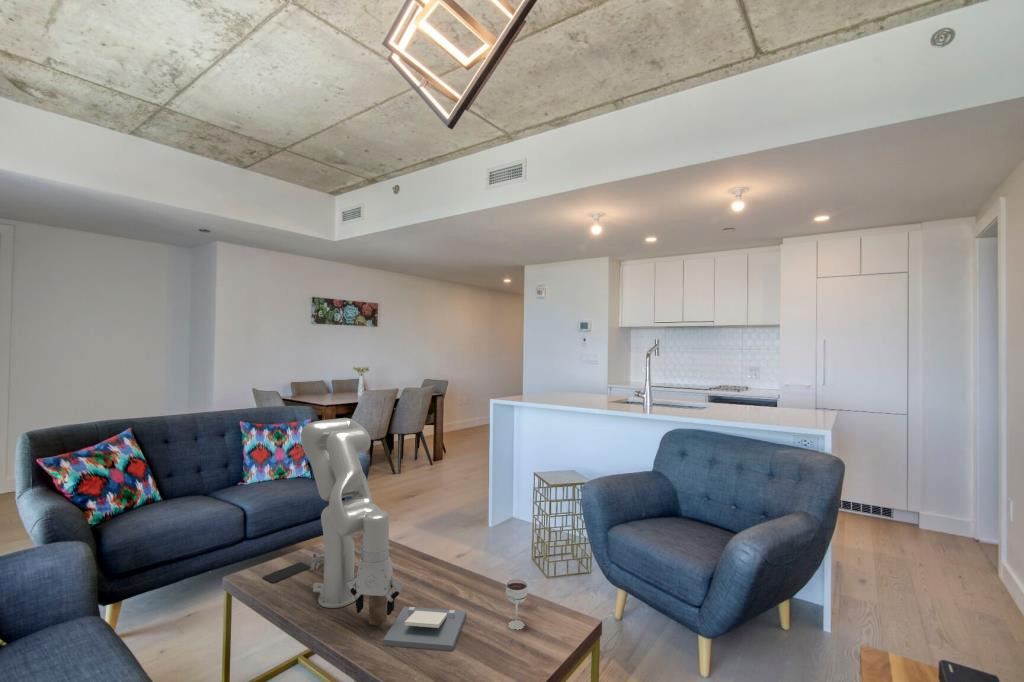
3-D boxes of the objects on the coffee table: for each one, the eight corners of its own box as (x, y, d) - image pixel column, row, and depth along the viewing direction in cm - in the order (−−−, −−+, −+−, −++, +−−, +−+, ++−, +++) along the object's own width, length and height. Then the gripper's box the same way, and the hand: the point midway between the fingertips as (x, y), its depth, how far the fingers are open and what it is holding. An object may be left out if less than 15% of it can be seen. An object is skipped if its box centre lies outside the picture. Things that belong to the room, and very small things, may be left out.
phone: (311, 566, 178) (273, 582, 166) (311, 568, 178) (273, 585, 166) (300, 561, 182) (261, 576, 170) (300, 563, 182) (261, 579, 170)
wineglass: (501, 620, 145) (502, 581, 145) (522, 616, 147) (522, 577, 147) (509, 633, 138) (510, 592, 138) (531, 628, 141) (531, 588, 141)
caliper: (312, 572, 175) (312, 555, 175) (310, 572, 175) (310, 555, 175) (355, 552, 192) (355, 536, 192) (353, 551, 193) (353, 535, 193)
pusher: (368, 624, 142) (368, 591, 142) (374, 616, 146) (374, 584, 146) (381, 625, 142) (381, 592, 142) (386, 617, 146) (386, 585, 146)
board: (383, 645, 133) (383, 633, 133) (404, 611, 149) (404, 601, 149) (452, 651, 130) (452, 639, 130) (466, 616, 147) (466, 606, 147)
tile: (415, 610, 145) (415, 614, 145) (404, 621, 136) (404, 625, 135) (447, 612, 144) (447, 616, 144) (438, 624, 134) (438, 628, 134)
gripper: (342, 557, 139) (341, 616, 139) (399, 561, 137) (398, 621, 137) (353, 546, 147) (353, 602, 147) (407, 550, 145) (407, 606, 144)
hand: (375, 611), depth 142 cm, fingers open, 9 cm apart
